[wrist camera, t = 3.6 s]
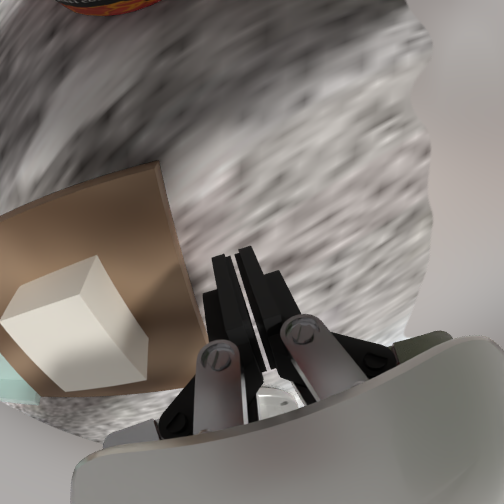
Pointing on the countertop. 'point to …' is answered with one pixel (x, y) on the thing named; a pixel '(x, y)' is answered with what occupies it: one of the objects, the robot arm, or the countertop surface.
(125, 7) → the canned food
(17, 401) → the tray
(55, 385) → the board
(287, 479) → the robot arm
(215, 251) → the countertop surface
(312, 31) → the countertop surface
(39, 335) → the block
